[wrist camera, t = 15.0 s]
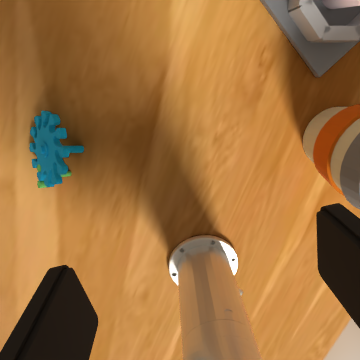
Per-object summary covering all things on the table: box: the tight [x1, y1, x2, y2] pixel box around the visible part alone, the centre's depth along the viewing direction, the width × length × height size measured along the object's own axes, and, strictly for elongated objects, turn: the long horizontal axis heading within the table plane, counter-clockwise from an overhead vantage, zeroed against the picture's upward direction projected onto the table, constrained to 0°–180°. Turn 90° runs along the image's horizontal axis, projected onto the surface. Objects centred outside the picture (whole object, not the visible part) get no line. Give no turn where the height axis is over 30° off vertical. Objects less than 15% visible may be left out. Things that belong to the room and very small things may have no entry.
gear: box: [30, 111, 84, 188], centre depth 36 cm, size 11×6×10 cm
